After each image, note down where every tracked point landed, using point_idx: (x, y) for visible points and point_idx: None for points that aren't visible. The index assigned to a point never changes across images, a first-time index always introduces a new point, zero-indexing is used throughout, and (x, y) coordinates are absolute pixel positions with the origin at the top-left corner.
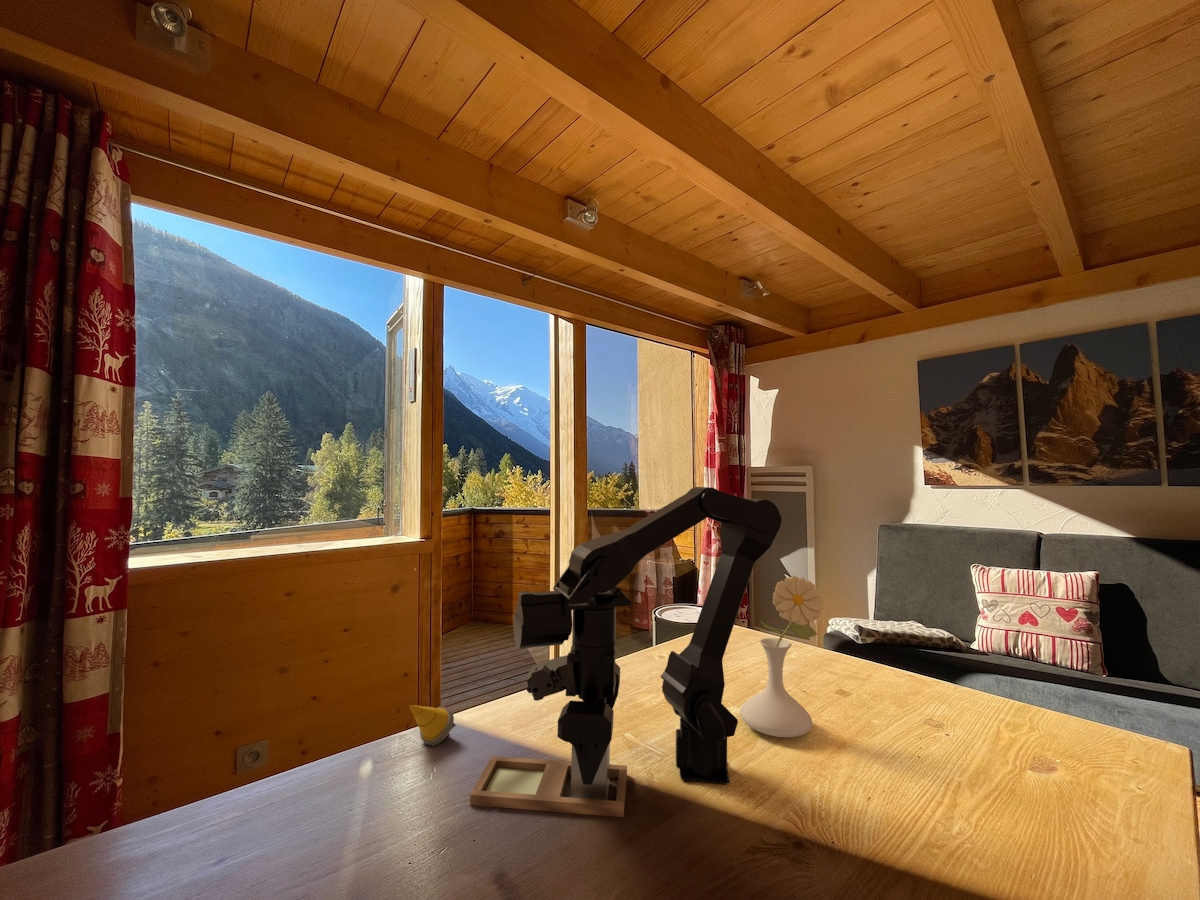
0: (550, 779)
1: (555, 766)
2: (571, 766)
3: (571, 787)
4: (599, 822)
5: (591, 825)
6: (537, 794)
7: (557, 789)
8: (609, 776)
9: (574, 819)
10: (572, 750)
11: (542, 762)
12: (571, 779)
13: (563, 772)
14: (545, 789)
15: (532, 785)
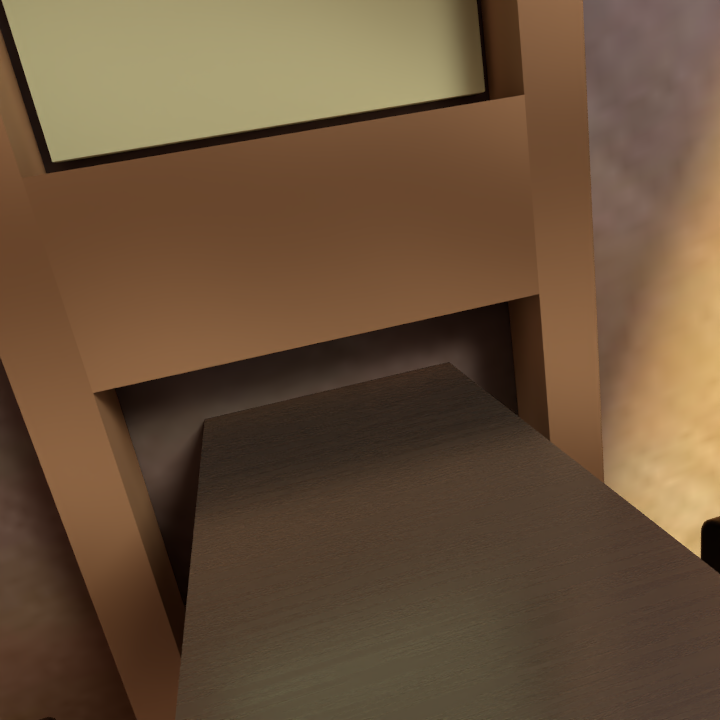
0: (302, 224)
1: (504, 192)
2: (191, 567)
3: (204, 464)
4: (68, 658)
5: (15, 630)
6: (38, 194)
7: (186, 338)
8: None
9: (22, 516)
10: None
11: (539, 44)
12: (197, 498)
13: (436, 293)
14: (139, 239)
15: (258, 59)
